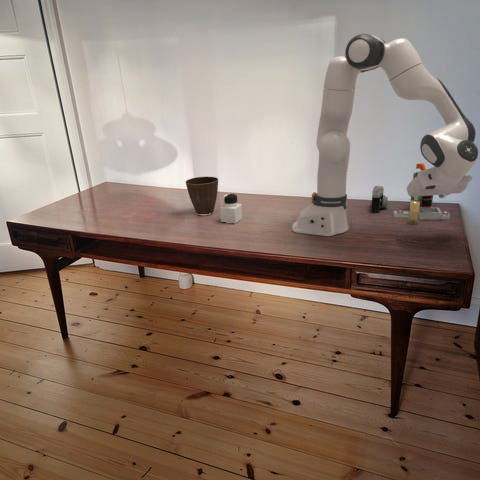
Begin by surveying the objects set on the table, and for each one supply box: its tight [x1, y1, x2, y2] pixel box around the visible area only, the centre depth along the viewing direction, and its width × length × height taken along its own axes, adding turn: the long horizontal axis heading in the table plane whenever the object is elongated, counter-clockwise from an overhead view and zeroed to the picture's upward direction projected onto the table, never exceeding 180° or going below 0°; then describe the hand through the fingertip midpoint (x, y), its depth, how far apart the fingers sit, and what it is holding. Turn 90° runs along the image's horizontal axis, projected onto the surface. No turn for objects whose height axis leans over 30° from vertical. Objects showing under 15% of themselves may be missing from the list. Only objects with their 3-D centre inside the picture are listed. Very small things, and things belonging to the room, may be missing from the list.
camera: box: [370, 185, 389, 214], centre depth 190 cm, size 15×7×10 cm, turn 161°
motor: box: [410, 162, 434, 207], centre depth 185 cm, size 10×9×20 cm
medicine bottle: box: [219, 193, 243, 224], centre depth 184 cm, size 7×7×12 cm
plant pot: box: [185, 176, 219, 215], centre depth 196 cm, size 15×15×16 cm
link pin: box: [407, 200, 420, 225], centre depth 170 cm, size 4×4×9 cm
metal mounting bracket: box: [393, 206, 451, 222], centre depth 177 cm, size 22×8×3 cm, turn 74°
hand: (428, 197), depth 158 cm, fingers open, 8 cm apart
